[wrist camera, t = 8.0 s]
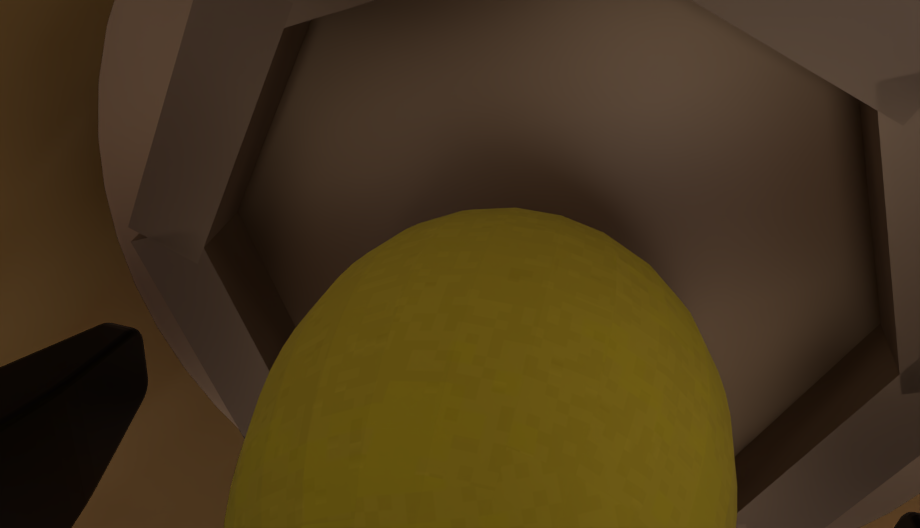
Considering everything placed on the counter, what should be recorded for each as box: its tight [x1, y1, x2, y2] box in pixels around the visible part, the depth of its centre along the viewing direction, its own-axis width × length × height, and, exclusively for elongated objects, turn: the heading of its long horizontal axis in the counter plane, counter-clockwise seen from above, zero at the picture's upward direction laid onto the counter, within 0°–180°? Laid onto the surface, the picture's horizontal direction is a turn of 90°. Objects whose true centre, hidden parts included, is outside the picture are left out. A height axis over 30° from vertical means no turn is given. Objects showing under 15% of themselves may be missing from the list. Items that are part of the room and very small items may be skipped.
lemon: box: [224, 208, 737, 528], centre depth 10 cm, size 6×6×8 cm
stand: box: [98, 0, 920, 528], centre depth 14 cm, size 15×15×4 cm
